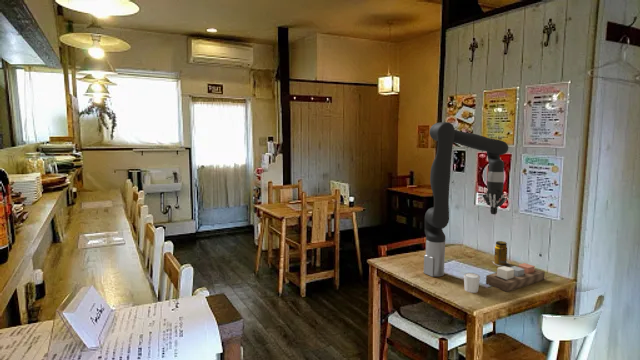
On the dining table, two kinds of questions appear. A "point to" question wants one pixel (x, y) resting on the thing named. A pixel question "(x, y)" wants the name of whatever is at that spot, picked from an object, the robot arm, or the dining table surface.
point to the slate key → (518, 271)
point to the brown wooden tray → (514, 280)
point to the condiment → (501, 254)
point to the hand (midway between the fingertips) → (493, 214)
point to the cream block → (505, 272)
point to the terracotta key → (527, 268)
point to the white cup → (471, 282)
